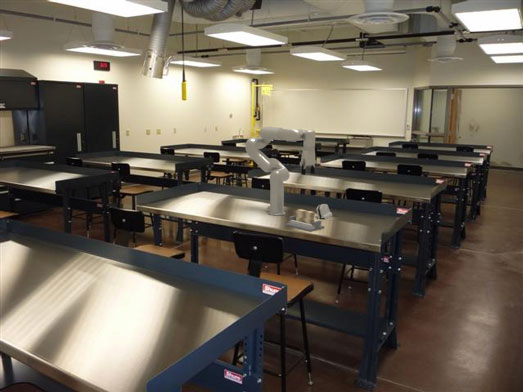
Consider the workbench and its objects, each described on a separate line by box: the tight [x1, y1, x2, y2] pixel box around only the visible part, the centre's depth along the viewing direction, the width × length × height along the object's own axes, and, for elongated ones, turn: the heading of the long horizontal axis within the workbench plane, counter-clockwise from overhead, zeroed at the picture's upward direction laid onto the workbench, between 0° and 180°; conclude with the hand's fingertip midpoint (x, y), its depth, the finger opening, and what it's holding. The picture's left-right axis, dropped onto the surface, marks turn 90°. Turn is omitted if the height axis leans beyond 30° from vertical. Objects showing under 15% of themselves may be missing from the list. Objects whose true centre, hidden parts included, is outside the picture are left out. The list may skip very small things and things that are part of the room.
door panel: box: [296, 208, 316, 224], centre depth 284 cm, size 12×3×9 cm, turn 46°
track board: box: [285, 215, 325, 233], centre depth 284 cm, size 20×14×5 cm
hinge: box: [315, 203, 333, 220], centre depth 314 cm, size 17×5×10 cm, turn 154°
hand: (307, 174), depth 304 cm, fingers open, 9 cm apart
